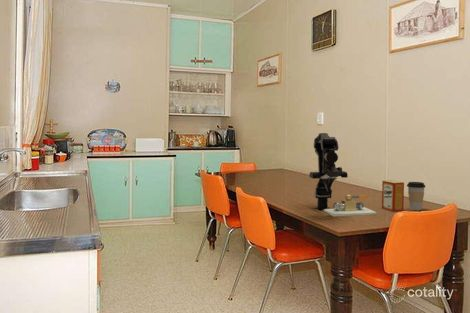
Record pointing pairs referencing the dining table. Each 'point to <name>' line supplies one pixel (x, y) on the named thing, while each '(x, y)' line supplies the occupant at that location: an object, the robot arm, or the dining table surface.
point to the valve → (348, 205)
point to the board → (350, 212)
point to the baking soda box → (392, 195)
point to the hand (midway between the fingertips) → (328, 191)
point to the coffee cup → (415, 195)
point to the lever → (355, 196)
